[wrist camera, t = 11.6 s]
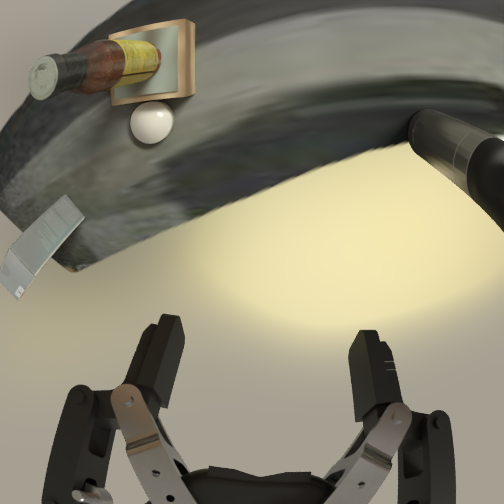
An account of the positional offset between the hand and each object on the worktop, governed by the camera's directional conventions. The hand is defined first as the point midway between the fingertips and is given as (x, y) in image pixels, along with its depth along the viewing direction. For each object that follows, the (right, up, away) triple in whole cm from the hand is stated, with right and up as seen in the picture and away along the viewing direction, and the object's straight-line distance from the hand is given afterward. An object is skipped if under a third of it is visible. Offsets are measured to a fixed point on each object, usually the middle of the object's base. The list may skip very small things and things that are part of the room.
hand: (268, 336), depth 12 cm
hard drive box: (-45, +11, +40) cm, 61 cm away
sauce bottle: (-16, +30, +17) cm, 38 cm away
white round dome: (-16, +25, +27) cm, 41 cm away
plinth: (-15, +33, +21) cm, 42 cm away
